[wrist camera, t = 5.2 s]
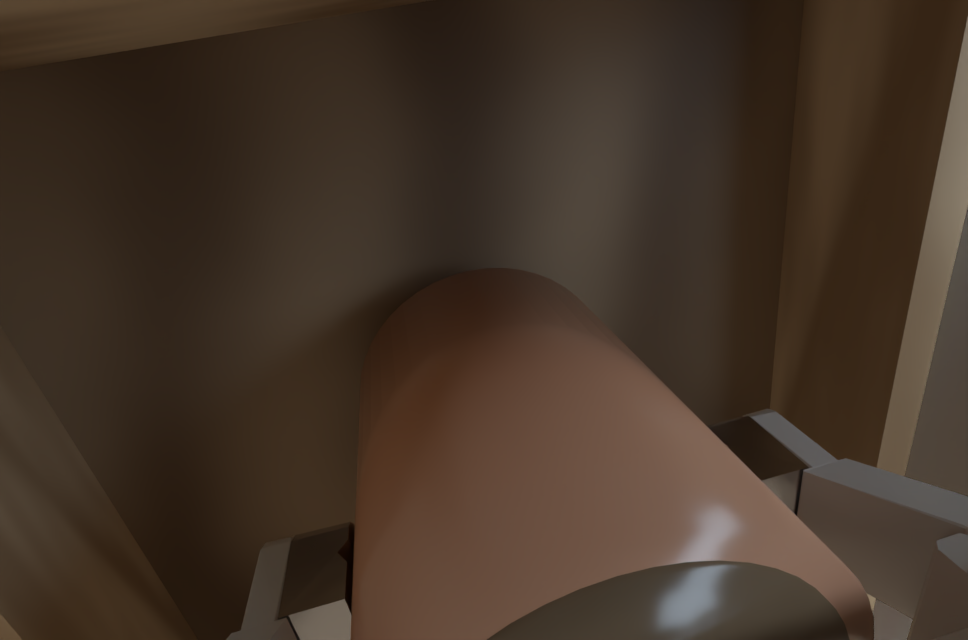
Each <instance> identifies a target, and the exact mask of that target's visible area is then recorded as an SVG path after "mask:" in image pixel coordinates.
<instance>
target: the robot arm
mask: <svg viewBox="0 0 968 640" xmlns="http://www.w3.org/2000/svg"><path fill="white" fill-rule="evenodd" d="M707 427H708V428H709V429H710V430H711V431H712V432H713V433H714V434H715V435H716V436H717V437H718V438H719V439H720V440H721V441H722V442H723V443H724V444H725V445H726V446H727V447H728V448H729V449H730V450H731V451H732V452H733V453H734V454H735V455H736V456H737V457H738V458H739V459H740V460H741V461H742V462H743V463H744V464H745V465H746V466H747V467H748V468H749V469H750V470H751V471H752V472H753V473H754V474H755V475H756V476H757V477H758V478H759V479H760V480H761V481H762V482H763V483H764V484H765V485H766V486H767V487H768V488H769V489H770V490H771V491H772V492H773V493H774V494H775V495H776V496H777V497H778V498H779V499H780V500H781V501H782V502H783V503H784V504H785V505H786V506H787V507H788V508H789V509H790V510H791V511H792V512H793V513H794V514H795V515H796V516H797V517H798V518H799V519H800V520H801V521H802V522H803V523H804V524H805V525H806V526H807V527H808V528H809V529H810V530H811V531H812V532H813V533H814V534H815V535H816V536H817V537H818V538H819V539H820V540H821V541H822V542H823V543H824V544H825V545H826V546H827V547H828V548H829V549H830V550H831V551H832V552H833V553H834V554H835V555H836V556H837V557H838V558H839V559H840V560H841V561H842V562H843V563H844V564H845V565H846V566H847V567H848V568H849V569H850V570H851V572H852V573H853V574H854V575H855V576H856V577H857V578H858V579H859V581H860V583H861V584H862V586H863V588H864V590H865V592H866V593H867V594H869V595H871V596H873V597H874V598H876V599H878V600H880V601H882V602H883V603H885V604H887V605H889V606H890V607H892V608H894V609H896V610H898V611H899V612H901V613H903V614H905V615H907V616H908V617H910V618H912V619H913V621H912V625H911V628H910V632H909V635H908V638H907V640H968V496H965V495H962V494H959V493H955V492H952V491H949V490H946V489H943V488H939V487H936V486H933V485H930V484H927V483H923V482H920V481H917V480H914V479H911V478H907V477H904V476H901V475H898V474H895V473H892V472H888V471H885V470H882V469H879V468H876V467H872V466H869V465H866V464H863V463H860V462H856V461H853V460H850V459H847V458H845V459H841V460H837V459H836V458H835V457H833V456H832V455H831V454H829V453H828V452H827V451H826V450H824V449H823V448H822V447H821V446H819V445H818V444H817V443H815V442H814V441H813V440H812V439H810V438H809V437H808V436H807V435H805V434H804V433H803V432H801V431H800V430H799V429H798V428H796V427H795V426H794V425H793V424H791V423H790V422H789V421H787V420H786V419H785V418H784V417H782V416H781V415H780V414H778V413H777V412H776V411H774V410H771V409H764V410H761V411H757V412H754V413H750V414H747V415H743V416H742V417H737V418H733V419H730V420H726V421H722V422H719V423H715V424H712V425H708V426H707ZM354 529H355V525H354V523H352V522H347V523H343V524H339V525H335V526H331V527H327V528H322V529H318V530H314V531H310V532H306V533H302V534H298V535H295V536H293V537H288V538H284V539H280V540H276V541H272V542H267V543H265V544H264V546H263V547H262V549H261V550H260V553H259V557H258V561H257V565H256V569H255V574H254V578H253V582H252V586H251V590H250V594H249V598H248V602H247V606H246V610H245V615H244V619H243V623H242V627H241V630H240V631H237V632H234V633H231V634H230V635H229V637H228V638H227V639H226V640H351V612H352V584H353V557H354Z"/></svg>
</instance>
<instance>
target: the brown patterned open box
mask: <svg viewBox="0 0 968 640" xmlns="http://www.w3.org/2000/svg"><path fill="white" fill-rule="evenodd" d="M967 207H968V0H0V640H226V639H227V638H228V637H229V635H230V634H231V633H234V632H237V631H240V630H241V627H242V623H243V619H244V615H245V610H246V606H247V602H248V598H249V594H250V590H251V586H252V582H253V578H254V574H255V569H256V565H257V561H258V557H259V553H260V550H261V549H262V547H263V546H264V544H265V543H267V542H272V541H276V540H280V539H284V538H288V537H293V536H295V535H298V534H302V533H306V532H310V531H314V530H318V529H322V528H327V527H331V526H335V525H339V524H343V523H347V522H352V523H354V525H355V502H356V474H357V446H358V419H359V391H360V379H361V372H362V368H363V364H364V360H365V357H366V355H367V352H368V350H369V347H370V345H371V343H372V341H373V339H374V338H375V336H376V334H377V333H378V331H379V329H380V328H381V327H382V325H383V324H384V323H385V322H386V320H387V319H388V318H389V316H390V315H391V314H392V313H393V312H394V311H395V310H396V309H397V308H398V307H399V306H400V305H401V304H402V303H404V302H405V301H406V300H408V299H409V298H410V297H412V296H413V295H414V294H416V293H417V292H419V291H420V290H422V289H424V288H426V287H427V286H429V285H431V284H432V283H435V282H437V281H439V280H442V279H444V278H447V277H449V276H452V275H455V274H459V273H462V272H466V271H471V270H478V269H484V268H509V269H519V270H524V271H528V272H532V273H536V274H539V275H541V276H544V277H547V278H549V279H552V280H553V281H555V282H557V283H559V284H560V285H562V286H564V287H565V288H567V289H568V290H569V291H571V292H572V293H573V294H574V295H576V296H577V297H578V298H579V299H580V300H581V301H582V302H583V303H584V304H585V305H586V306H587V307H588V308H589V309H590V310H591V311H592V312H593V313H594V314H595V315H596V316H597V317H598V318H599V319H600V320H601V321H602V322H603V323H604V324H605V325H606V326H607V327H608V328H609V329H610V330H611V331H612V332H613V333H614V334H615V335H616V336H617V337H618V338H619V339H620V340H621V341H622V342H623V343H624V344H625V345H626V346H627V347H628V348H629V349H630V350H631V351H632V352H633V353H634V354H635V355H636V356H637V357H638V358H639V359H640V360H641V361H642V362H643V363H644V364H645V365H646V366H647V367H648V368H649V369H650V370H651V371H652V372H653V373H654V374H655V375H656V376H657V377H658V378H659V379H660V380H661V381H662V382H663V383H664V384H665V385H666V386H667V387H668V388H669V389H670V390H671V391H672V392H673V393H674V394H675V395H676V396H677V397H678V398H679V399H680V400H681V401H682V402H683V403H684V404H685V405H686V406H687V407H688V408H689V409H690V410H691V411H692V412H693V413H694V414H695V415H696V416H697V417H698V418H699V419H700V420H701V421H702V422H703V423H704V424H705V425H706V426H708V425H712V424H715V423H719V422H722V421H726V420H730V419H733V418H737V417H742V416H743V415H747V414H750V413H754V412H757V411H761V410H764V409H771V410H774V411H776V412H777V413H778V414H780V415H781V416H782V417H784V418H785V419H786V420H787V421H789V422H790V423H791V424H793V425H794V426H795V427H796V428H798V429H799V430H800V431H801V432H803V433H804V434H805V435H807V436H808V437H809V438H810V439H812V440H813V441H814V442H815V443H817V444H818V445H819V446H821V447H822V448H823V449H824V450H826V451H827V452H828V453H829V454H831V455H832V456H833V457H835V458H836V459H837V460H841V459H845V458H847V459H850V460H853V461H856V462H860V463H863V464H866V465H869V466H872V467H876V468H879V469H882V470H885V471H888V472H892V473H895V474H898V475H901V476H904V477H905V472H906V468H907V464H908V460H909V455H910V451H911V447H912V443H913V438H914V434H915V430H916V425H917V421H918V417H919V413H920V408H921V404H922V400H923V395H924V391H925V387H926V383H927V378H928V374H929V370H930V365H931V361H932V357H933V353H934V348H935V344H936V340H937V336H938V331H939V327H940V323H941V318H942V314H943V310H944V306H945V301H946V297H947V293H948V288H949V284H950V280H951V276H952V271H953V267H954V263H955V258H956V254H957V250H958V246H959V241H960V237H961V233H962V228H963V224H964V220H965V216H966V211H967ZM866 594H867V593H866ZM867 596H868V598H869V601H870V605H871V609H872V611H873V609H874V605H875V601H876V598H874V597H873V596H871V595H869V594H867Z"/></svg>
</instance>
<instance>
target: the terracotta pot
mask: <svg viewBox="0 0 968 640" xmlns="http://www.w3.org/2000/svg"><path fill="white" fill-rule="evenodd" d="M351 640H874V617H873V613H872V609H871V605H870V601H869V598H868V596H867V594H866V592H865V590H864V588H863V586H862V584H861V583H860V581H859V579H858V578H857V577H856V576H855V575H854V574H853V573H852V572H851V570H850V569H849V568H848V567H847V566H846V565H845V564H844V563H843V562H842V561H841V560H840V559H839V558H838V557H837V556H836V555H835V554H834V553H833V552H832V551H831V550H830V549H829V548H828V547H827V546H826V545H825V544H824V543H823V542H822V541H821V540H820V539H819V538H818V537H817V536H816V535H815V534H814V533H813V532H812V531H811V530H810V529H809V528H808V527H807V526H806V525H805V524H804V523H803V522H802V521H801V520H800V519H799V518H798V517H797V516H796V515H795V514H794V513H793V512H792V511H791V510H790V509H789V508H788V507H787V506H786V505H785V504H784V503H783V502H782V501H781V500H780V499H779V498H778V497H777V496H776V495H775V494H774V493H773V492H772V491H771V490H770V489H769V488H768V487H767V486H766V485H765V484H764V483H763V482H762V481H761V480H760V479H759V478H758V477H757V476H756V475H755V474H754V473H753V472H752V471H751V470H750V469H749V468H748V467H747V466H746V465H745V464H744V463H743V462H742V461H741V460H740V459H739V458H738V457H737V456H736V455H735V454H734V453H733V452H732V451H731V450H730V449H729V448H728V447H727V446H726V445H725V444H724V443H723V442H722V441H721V440H720V439H719V438H718V437H717V436H716V435H715V434H714V433H713V432H712V431H711V430H710V429H709V428H708V427H707V426H706V425H705V424H704V423H703V422H702V421H701V420H700V419H699V418H698V417H697V416H696V415H695V414H694V413H693V412H692V411H691V410H690V409H689V408H688V407H687V406H686V405H685V404H684V403H683V402H682V401H681V400H680V399H679V398H678V397H677V396H676V395H675V394H674V393H673V392H672V391H671V390H670V389H669V388H668V387H667V386H666V385H665V384H664V383H663V382H662V381H661V380H660V379H659V378H658V377H657V376H656V375H655V374H654V373H653V372H652V371H651V370H650V369H649V368H648V367H647V366H646V365H645V364H644V363H643V362H642V361H641V360H640V359H639V358H638V357H637V356H636V355H635V354H634V353H633V352H632V351H631V350H630V349H629V348H628V347H627V346H626V345H625V344H624V343H623V342H622V341H621V340H620V339H619V338H618V337H617V336H616V335H615V334H614V333H613V332H612V331H611V330H610V329H609V328H608V327H607V326H606V325H605V324H604V323H603V322H602V321H601V320H600V319H599V318H598V317H597V316H596V315H595V314H594V313H593V312H592V311H591V310H590V309H589V308H588V307H587V306H586V305H585V304H584V303H583V302H582V301H581V300H580V299H579V298H578V297H577V296H576V295H574V294H573V293H572V292H571V291H569V290H568V289H567V288H565V287H564V286H562V285H560V284H559V283H557V282H555V281H553V280H552V279H549V278H547V277H544V276H541V275H539V274H536V273H532V272H528V271H524V270H519V269H509V268H484V269H478V270H471V271H466V272H462V273H459V274H455V275H452V276H449V277H447V278H444V279H442V280H439V281H437V282H435V283H432V284H431V285H429V286H427V287H426V288H424V289H422V290H420V291H419V292H417V293H416V294H414V295H413V296H412V297H410V298H409V299H408V300H406V301H405V302H404V303H402V304H401V305H400V306H399V307H398V308H397V309H396V310H395V311H394V312H393V313H392V314H391V315H390V316H389V318H388V319H387V320H386V322H385V323H384V324H383V325H382V327H381V328H380V329H379V331H378V333H377V334H376V336H375V338H374V339H373V341H372V343H371V345H370V347H369V350H368V352H367V355H366V357H365V360H364V364H363V368H362V372H361V379H360V391H359V419H358V446H357V474H356V502H355V529H354V557H353V584H352V612H351Z"/></svg>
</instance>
